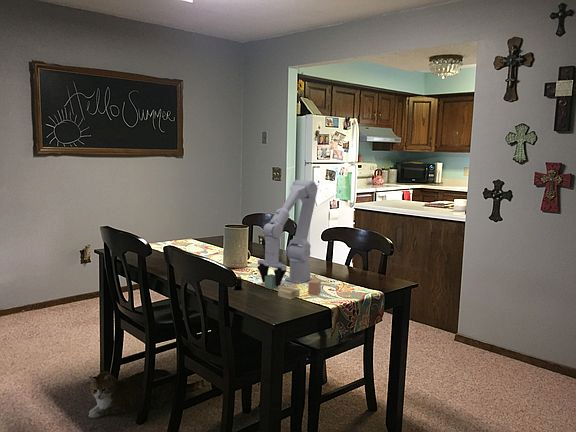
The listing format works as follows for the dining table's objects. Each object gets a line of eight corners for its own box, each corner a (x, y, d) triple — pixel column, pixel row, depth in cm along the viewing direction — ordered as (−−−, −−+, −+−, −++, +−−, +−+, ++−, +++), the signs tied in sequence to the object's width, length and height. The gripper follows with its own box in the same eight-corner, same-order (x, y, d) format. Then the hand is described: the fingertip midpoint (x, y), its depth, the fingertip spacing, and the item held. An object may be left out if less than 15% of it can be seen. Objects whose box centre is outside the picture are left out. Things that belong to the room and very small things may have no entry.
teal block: (271, 285, 216) (271, 274, 215) (278, 287, 213) (278, 275, 213) (264, 287, 213) (264, 275, 212) (271, 289, 210) (271, 277, 210)
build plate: (228, 284, 218) (228, 274, 217) (245, 284, 219) (245, 273, 219) (230, 292, 206) (230, 281, 205) (248, 292, 207) (248, 281, 206)
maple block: (288, 293, 206) (288, 286, 206) (299, 296, 202) (299, 289, 202) (278, 296, 201) (278, 289, 201) (289, 300, 198) (289, 292, 197)
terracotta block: (311, 291, 209) (311, 279, 208) (320, 292, 207) (320, 280, 207) (308, 294, 205) (308, 282, 204) (317, 295, 204) (317, 283, 203)
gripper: (252, 250, 213) (252, 282, 215) (278, 256, 203) (278, 289, 205) (264, 248, 218) (263, 279, 220) (290, 253, 209) (289, 285, 211)
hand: (271, 284), depth 213 cm, fingers open, 7 cm apart
